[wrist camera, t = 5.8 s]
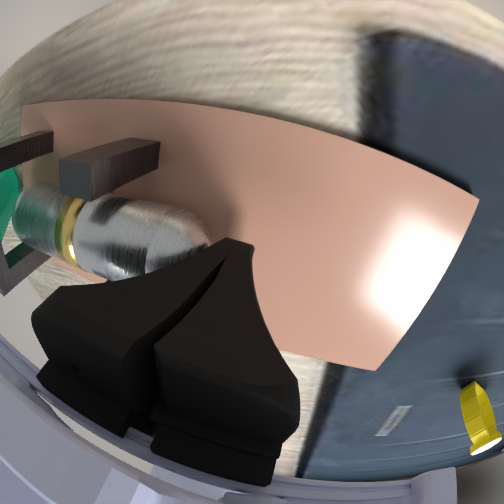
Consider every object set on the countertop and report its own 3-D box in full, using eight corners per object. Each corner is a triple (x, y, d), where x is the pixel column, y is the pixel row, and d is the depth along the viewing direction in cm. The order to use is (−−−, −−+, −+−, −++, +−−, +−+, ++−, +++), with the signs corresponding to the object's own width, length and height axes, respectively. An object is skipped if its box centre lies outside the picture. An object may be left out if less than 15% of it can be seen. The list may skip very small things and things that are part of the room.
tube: (230, 202, 11) (195, 242, 8) (220, 276, 13) (191, 330, 10) (42, 170, 12) (-4, 191, 9) (49, 224, 14) (9, 251, 11)
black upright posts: (160, 141, 10) (55, 178, 5) (154, 286, 14) (95, 361, 9) (39, 131, 11) (-38, 158, 6) (49, 241, 15) (-8, 285, 10)
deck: (473, 195, 9) (479, 199, 8) (374, 363, 14) (375, 370, 14) (28, 104, 11) (21, 106, 10) (39, 248, 16) (34, 252, 16)
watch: (492, 385, 14) (507, 439, 9) (468, 401, 15) (480, 455, 10) (476, 369, 13) (495, 437, 8) (447, 389, 14) (461, 456, 9)
